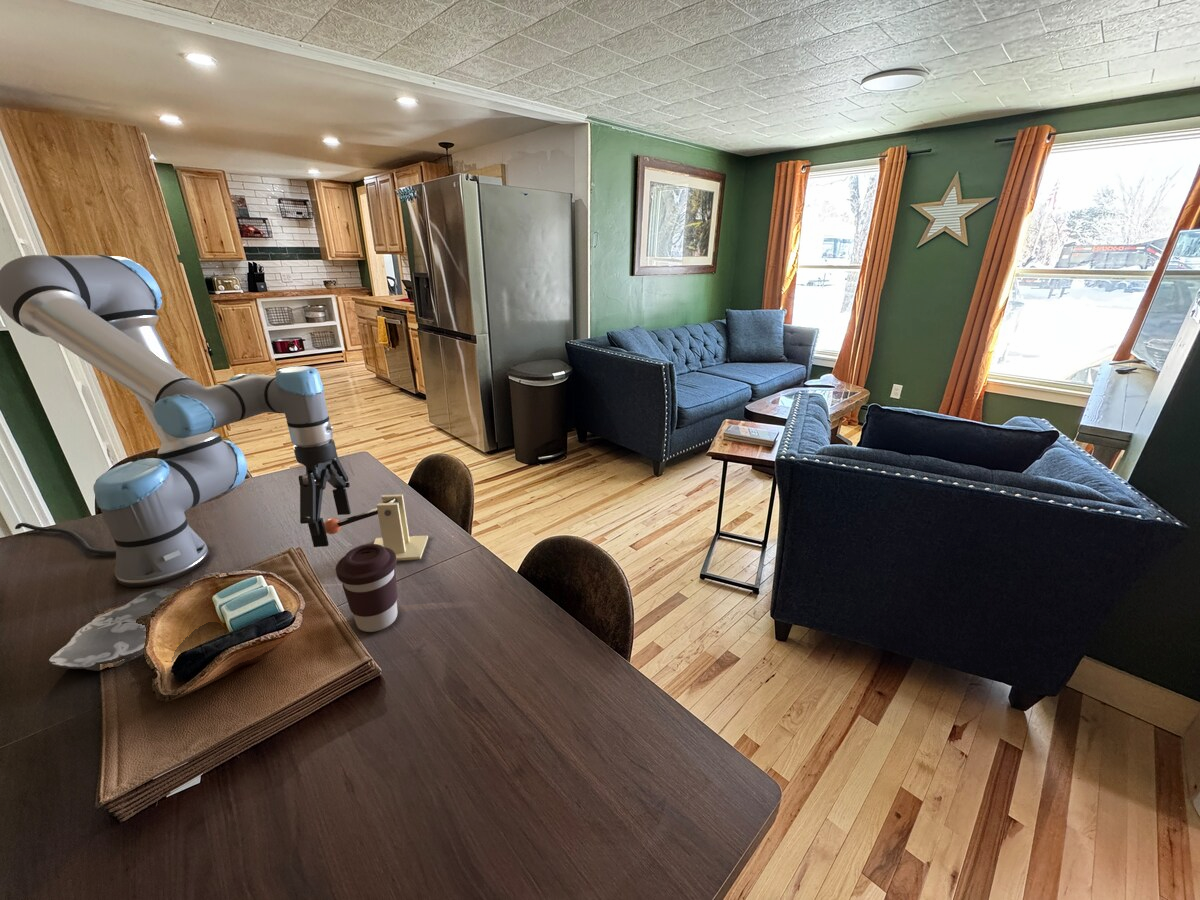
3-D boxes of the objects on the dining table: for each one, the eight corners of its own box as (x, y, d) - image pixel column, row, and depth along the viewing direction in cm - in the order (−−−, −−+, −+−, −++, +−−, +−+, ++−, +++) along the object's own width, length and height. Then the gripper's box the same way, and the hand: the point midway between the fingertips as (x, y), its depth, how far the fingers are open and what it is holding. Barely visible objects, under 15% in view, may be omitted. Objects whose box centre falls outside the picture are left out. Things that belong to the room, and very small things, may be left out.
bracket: (365, 564, 106) (355, 510, 101) (377, 542, 115) (368, 491, 109) (420, 561, 108) (413, 508, 103) (428, 539, 116) (421, 489, 111)
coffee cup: (384, 642, 85) (371, 574, 80) (336, 633, 87) (320, 566, 81) (415, 606, 94) (405, 542, 89) (371, 598, 96) (358, 535, 90)
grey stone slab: (139, 682, 76) (132, 669, 75) (35, 679, 76) (27, 665, 75) (230, 601, 94) (225, 588, 93) (146, 598, 94) (140, 586, 93)
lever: (325, 539, 106) (317, 526, 104) (331, 530, 109) (323, 518, 108) (398, 515, 106) (391, 502, 104) (402, 507, 109) (395, 494, 108)
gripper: (306, 464, 88) (329, 560, 96) (352, 422, 111) (368, 501, 119) (263, 466, 87) (290, 562, 95) (318, 423, 110) (336, 503, 118)
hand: (333, 529), depth 107 cm, fingers open, 13 cm apart
